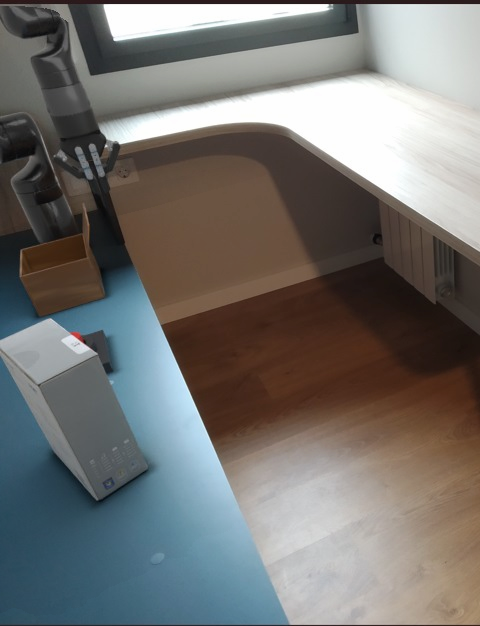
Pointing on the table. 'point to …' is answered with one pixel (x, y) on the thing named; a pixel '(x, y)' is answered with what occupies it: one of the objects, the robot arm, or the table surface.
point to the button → (77, 336)
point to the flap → (86, 229)
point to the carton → (60, 275)
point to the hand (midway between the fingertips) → (103, 193)
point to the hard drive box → (74, 405)
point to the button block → (99, 348)
